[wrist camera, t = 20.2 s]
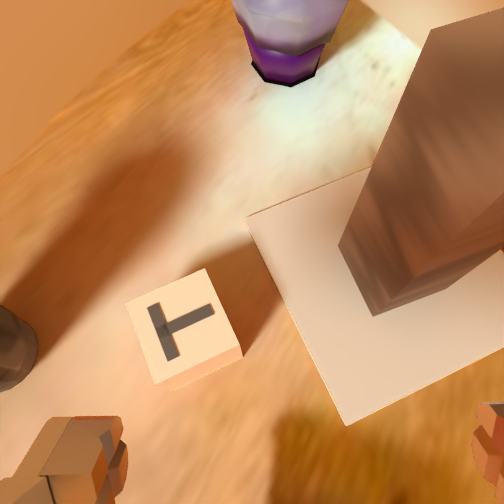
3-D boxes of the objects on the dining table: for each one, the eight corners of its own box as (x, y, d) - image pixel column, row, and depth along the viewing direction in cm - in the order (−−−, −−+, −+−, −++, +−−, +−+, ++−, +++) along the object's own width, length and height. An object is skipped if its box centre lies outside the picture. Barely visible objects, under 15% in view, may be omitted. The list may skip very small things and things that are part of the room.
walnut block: (446, 289, 26) (696, 107, 11) (372, 316, 25) (532, 165, 10) (407, 220, 28) (576, -15, 13) (337, 245, 27) (431, 29, 12)
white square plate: (549, 323, 25) (554, 321, 25) (345, 426, 23) (347, 426, 23) (421, 149, 30) (423, 144, 30) (244, 221, 28) (244, 218, 28)
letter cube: (243, 357, 25) (239, 343, 21) (173, 391, 24) (154, 384, 20) (213, 292, 27) (204, 267, 22) (147, 322, 26) (124, 302, 22)
